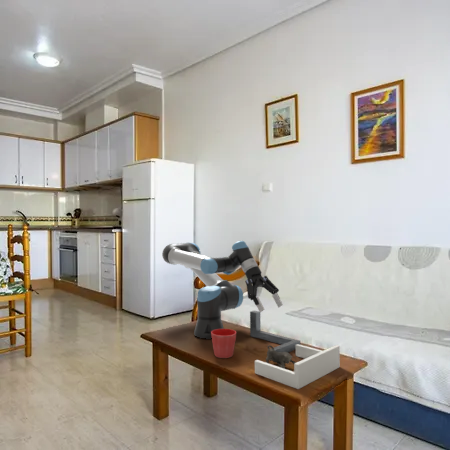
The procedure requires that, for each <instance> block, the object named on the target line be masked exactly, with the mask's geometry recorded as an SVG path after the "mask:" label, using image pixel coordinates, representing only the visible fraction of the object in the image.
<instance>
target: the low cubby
mask: <svg viewBox="0 0 450 450" xmlns="http://www.w3.org/2000/svg"><path fill="white" fill-rule="evenodd" d="M340 349H341V347H340V345H337V344H335V345H332V346H331V347H329V348H327V349H324V350H321V349H318V348H314V347H310V346H307V345H304V344H303V345H302V344H300V345H299V344H297V345H296V349H295V357H299V358H301V359H302V358H303V359H302V360H300V361H297V362H296V363H295V364H293V365H294V367H293V368H294V369H293V371H292V370H289V369H286V368H280V367H279V366H278V365H274V364H271V363H269V364H268V363H267V362H266V361H262V360H259V359H256V360H254V374H256V375H258V376H262V377H264V378H267V379H269V380H272V381H275V382H278V383H279V384H282V385H285V386H288V387H291V388H294V389H297V390H300V389H301V388H303V387H305V386H307V385H308V384H310V383H313V382H315V381H316V380H318V379H320V378H322V377H324V376H326V375H327V374H330V373H332V372H333V371H336V370H337V369H339V368H340V363H341V362H340V361H341V359H340V358H341V356H340V352H341V351H340Z"/></svg>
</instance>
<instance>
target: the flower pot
mask: <svg viewBox="0 0 450 450" xmlns="http://www.w3.org/2000/svg"><path fill="white" fill-rule="evenodd" d="M211 336H212V339H211V341H212V349H213V353H214V356H215V357H216V358H219V359H227V358H231V357H233V355H234V351H235V345H236V341H237V340H236V339H237V331H236V330H234V329H232V328H224V329H216V330H213V331H212V332H211Z"/></svg>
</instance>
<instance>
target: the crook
mask: <svg viewBox="0 0 450 450" xmlns="http://www.w3.org/2000/svg"><path fill="white" fill-rule="evenodd" d="M249 317H250V319H249V320H250V321H249V330H250V331H249V333H250V334H249V336H250V337H252V338H257V339H259V340H263V341H268V342H271V343H275V344H279V345H277V346H274V347H273V348H274V350H275V351H276V352H287V353H290V352H293V351H296V345H297V344H299V345H301V340H298V339H295V338H291V337H287V336H284V335H283V336H282V335H280V334H275V333H271V332H268V331H263V330H261V328H262V327H261V312H259V310H258V311H257V310H252V311H249ZM270 349H272V348H271V347H270Z"/></svg>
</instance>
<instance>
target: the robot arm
mask: <svg viewBox="0 0 450 450" xmlns="http://www.w3.org/2000/svg"><path fill="white" fill-rule="evenodd" d="M231 249H232V252H231V253H230V255H228V256H223V257H222V256H221V257H211V256H207V255H202V254H201V249H200V247H199V246H198V245H197V244H196V243H194V242H183V243H182V242H181V243H179V242H178V243H169V244H167V245H166V246H165V247H164V248H163V250H162V258H163V261H165V262H166V263H167V264H169V265H174V266H175V265H181V266H184V267H185V268H186V269H190V270H191V272H193V273H194V274H195V275H196V276H197V277H198V278H199V280H200V281H201V282H203V284H204V285H205V286H204V287H201V288H200V289H199V290H198V291H197V297H196V301H197V320H196V324H195V328H194V331H193V332H194V333H193V336H194V335H195V336H197V337H200V338H199V339H201V338H206V339H205V340H212V339H211V338H212V336H211V332H212V331H213V330H216V329H225V328H224V324H223V320H222V312H224V311H229V310H233V309H234V310H235V309H237V308H239V307H241V305H242V304H243V302H244V292H243V290H242V288H241V286H239V285H236V284H234V285H232V284H231V282H229V281H228V280H227V279H225V280H224V279H223V278H221V277H220V276H219V275H218V274H219V273H223V274H224V275H227V276H230V275H231V274H233V273H234V272H236V271H237V270H238V268H239V267H241V269H242V271H243V273H244V275H245V277H246V278H247V279H245V281H244V282H245V284H246V291H247V292H246V293H247V298H248V299H249V300H250V301H253V303H254V305H255V306H256V307H257V310H258V312H260V313H263V311H264V310H265V307H264V306H263V303H262V302H261V300H260V298H259V296H258V295H257V294H258V288H263V289H264V290H265V291H267V292H269V293H270V294H271V297H272V298H273V300H274V301H275V304H276V306H277V308H281V307H283V306H284V303H283V302H282V301H281V297H280V296H279V294H278V292H279V291H280V289H279V288H278V287H277V286H276V285H275V284H274V283H273V282H272V281H271V280H270V279H269V277H268V276H267V275H264V276H263V275H262V271H261V269H260V267H259V265H258V263H257V261H256V259H255V257H254V256H253V254H252V252H251V250H250V248H249V246H248V245H247V242H245V241H244V240H240V241H236V242H234V244H233V245H232V246H231ZM195 336H194V337H195ZM197 337H196V338H197Z"/></svg>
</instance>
